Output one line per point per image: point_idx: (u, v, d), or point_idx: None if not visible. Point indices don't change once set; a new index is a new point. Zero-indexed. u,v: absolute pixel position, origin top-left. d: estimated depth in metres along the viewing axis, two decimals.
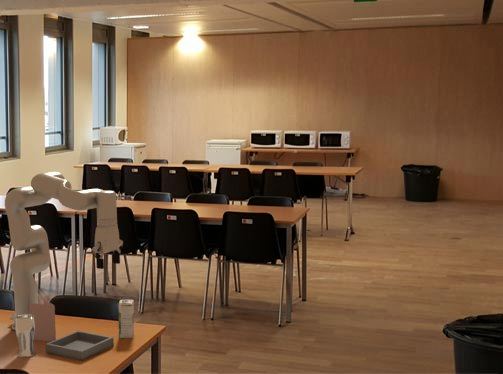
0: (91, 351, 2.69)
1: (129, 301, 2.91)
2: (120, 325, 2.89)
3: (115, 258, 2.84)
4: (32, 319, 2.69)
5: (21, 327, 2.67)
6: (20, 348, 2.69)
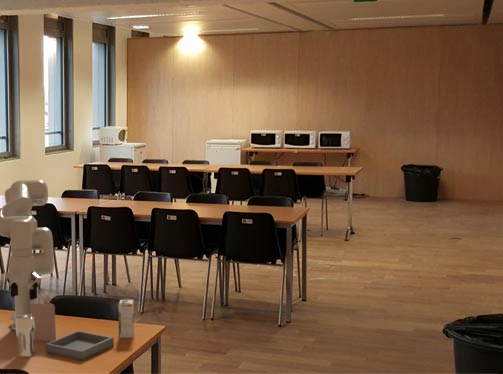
0: (91, 351, 2.69)
1: (129, 301, 2.91)
2: (120, 325, 2.89)
3: (14, 290, 2.70)
4: (32, 319, 2.69)
5: (21, 327, 2.67)
6: (20, 348, 2.69)
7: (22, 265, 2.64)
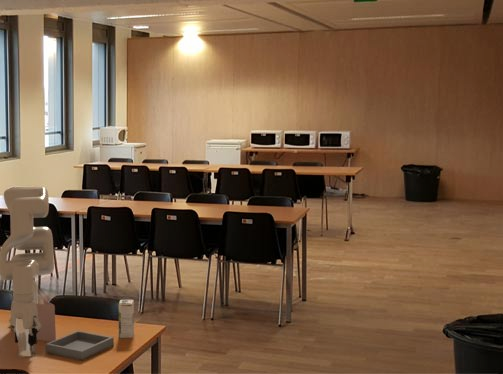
0: (91, 351, 2.69)
1: (129, 301, 2.91)
2: (120, 325, 2.89)
3: None
4: None
5: (21, 327, 2.67)
6: (20, 348, 2.69)
7: (24, 310, 2.66)
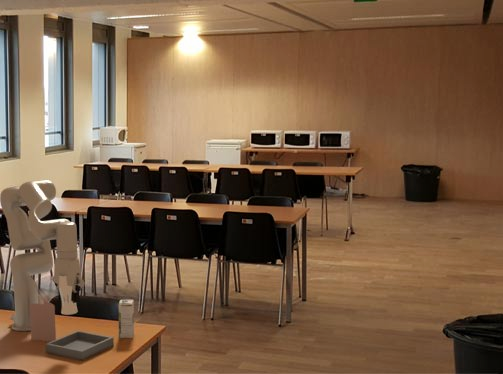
0: (91, 351, 2.69)
1: (129, 301, 2.91)
2: (120, 325, 2.89)
3: None
4: None
5: (64, 284, 2.70)
6: (63, 305, 2.72)
7: (68, 267, 2.69)
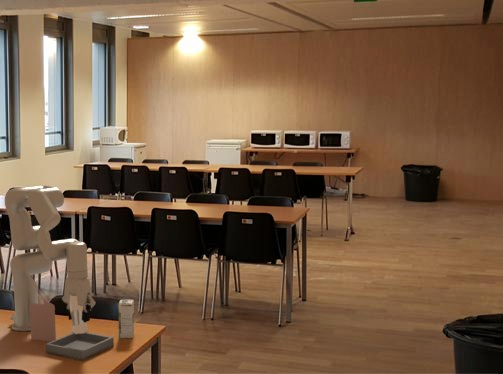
0: (91, 351, 2.69)
1: (129, 301, 2.91)
2: (120, 325, 2.89)
3: None
4: None
5: (75, 304, 2.72)
6: (74, 325, 2.74)
7: (78, 287, 2.71)
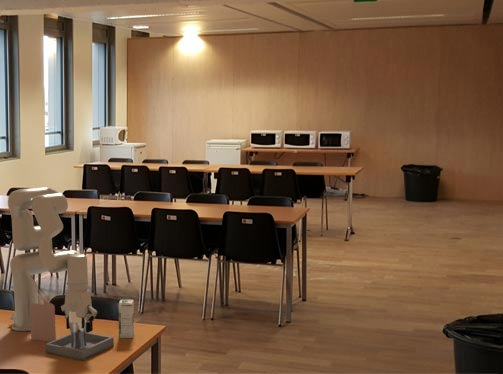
0: (91, 351, 2.69)
1: (129, 301, 2.91)
2: (120, 325, 2.89)
3: None
4: None
5: (74, 320, 2.73)
6: (73, 340, 2.75)
7: (79, 299, 2.71)
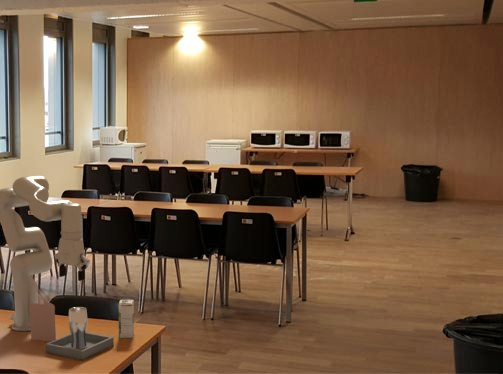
0: (91, 351, 2.69)
1: (129, 301, 2.91)
2: (120, 325, 2.89)
3: (63, 271, 2.82)
4: (85, 312, 2.75)
5: (74, 320, 2.73)
6: (73, 340, 2.75)
7: (72, 247, 2.75)
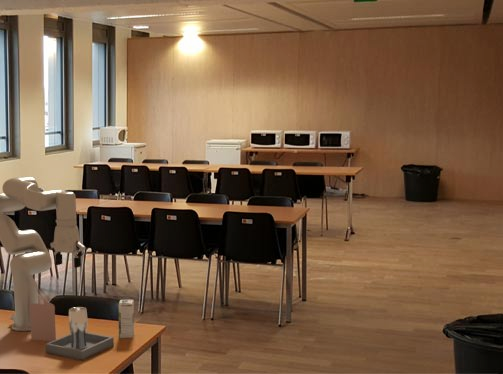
0: (91, 351, 2.69)
1: (129, 301, 2.91)
2: (120, 325, 2.89)
3: (59, 259, 2.87)
4: (85, 312, 2.75)
5: (74, 320, 2.73)
6: (73, 340, 2.75)
7: (67, 235, 2.80)
